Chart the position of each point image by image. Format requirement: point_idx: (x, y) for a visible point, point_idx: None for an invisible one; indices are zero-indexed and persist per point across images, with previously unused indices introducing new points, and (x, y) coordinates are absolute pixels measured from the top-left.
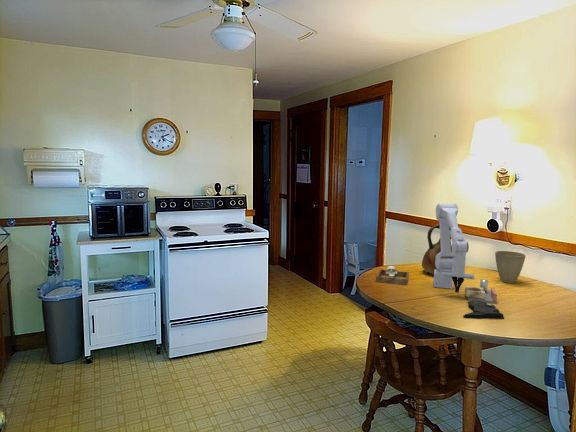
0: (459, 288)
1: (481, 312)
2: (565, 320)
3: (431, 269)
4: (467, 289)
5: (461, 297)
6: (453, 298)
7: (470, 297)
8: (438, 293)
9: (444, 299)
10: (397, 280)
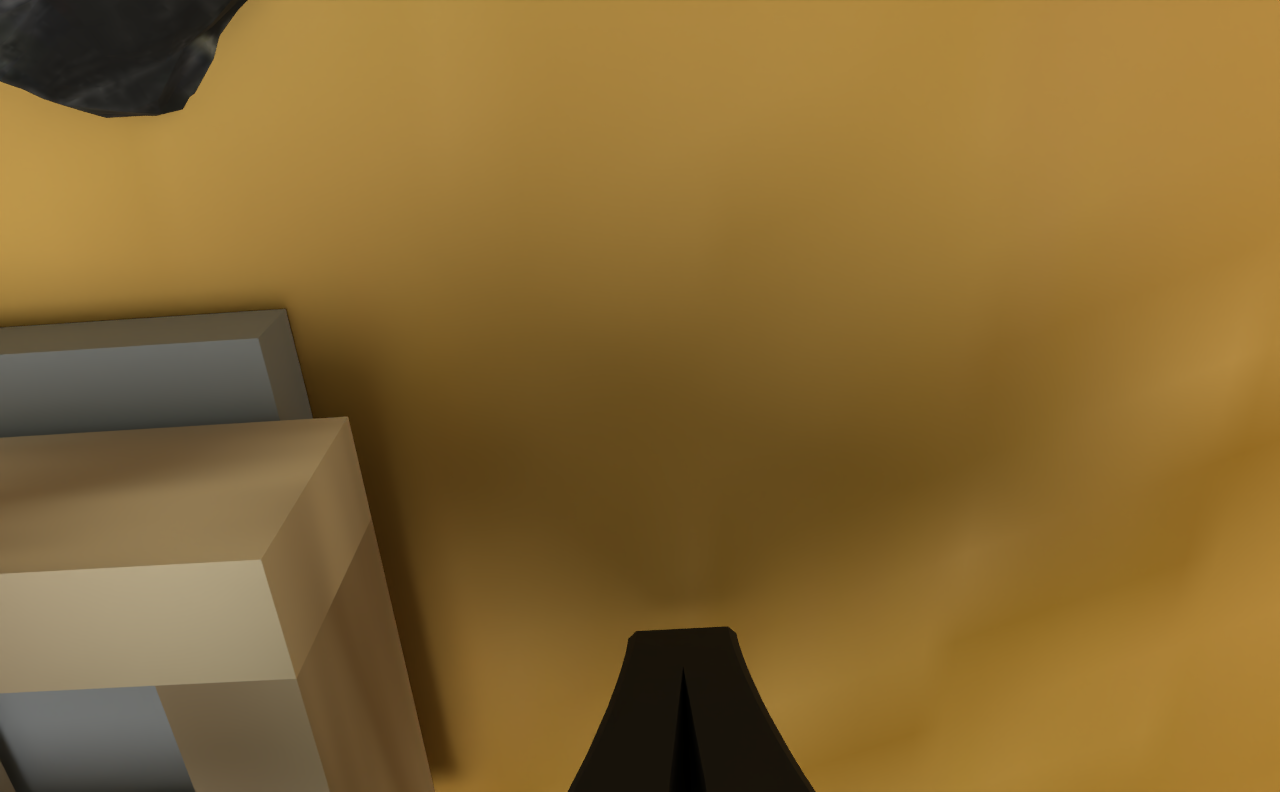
0: (594, 743)
1: None
2: None
3: None
4: (264, 750)
5: (530, 523)
6: (786, 311)
7: None
8: (1224, 615)
9: (1146, 29)
10: None
